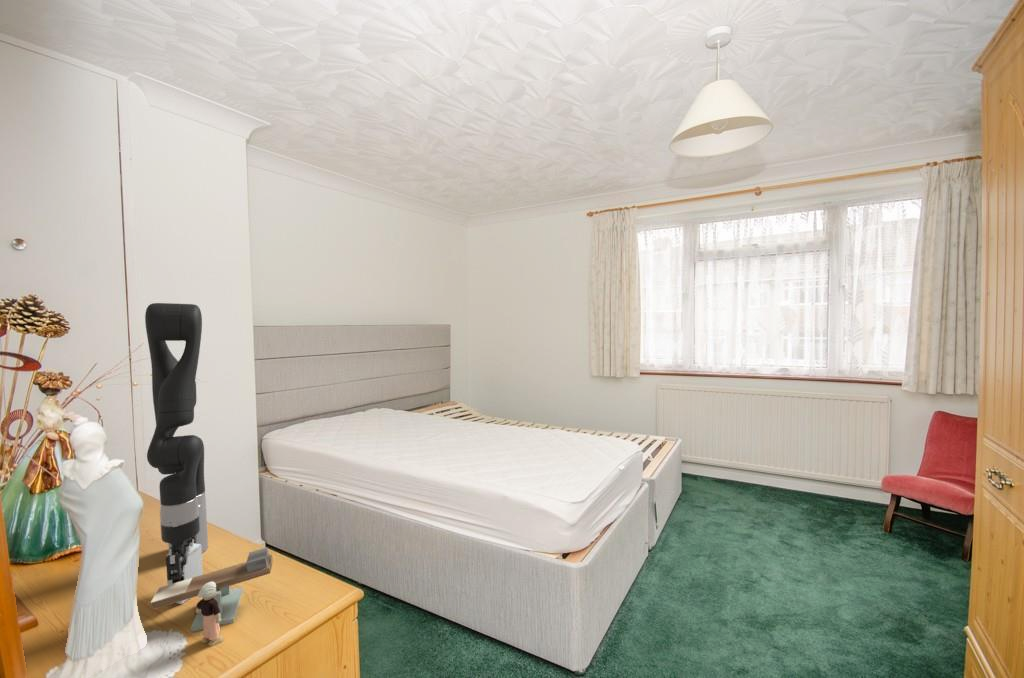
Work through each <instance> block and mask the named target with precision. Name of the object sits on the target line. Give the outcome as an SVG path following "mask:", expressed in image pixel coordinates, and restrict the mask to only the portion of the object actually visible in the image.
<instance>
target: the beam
mask: <svg viewBox="0 0 1024 678" xmlns="http://www.w3.org/2000/svg"><path fill="white" fill-rule="evenodd" d="M269 551H270V550H269V548H268V547H263V548H260V549H257V550H254V551H250V552H249V553H248V556H247V560H246V561H245V562H241V563H238V564H235V565H231V566H228V567H224V568H220V569H218V570H214V571H211V572H208V573H204V574H203V575H200V576H197V577H193V578H190V579H187V580H183V581H180V582H177V583H173V584H170V585H167V584H166V585H164V586H160V587H158V589H157V591H156V593H155V594H154V596H152V597H153V598H152V599H151V601H150V604H151V608H152V610H156V609H159V608H163V607H166V606H168V605H169V606H170V605H172V604H177V603H176V602H179V601H182V600H186V599H188V600H190V599H191V598H195V597H198V594H199V591H200V589H201V588H202V587H203V586H204V585H205V584H206V583H208V582H214V583H216V592H217V591H219V590H220V589H221V588H224V587H228V586H230V587H231V586H234V585H237V584H241V583H243V582H247V581H250V580H253V579H257V578H261V577H263V576H265V575H270V574H271V572H272V569H273V568H272V566H273V562H274V556H273V554H270V552H269ZM189 598H190V599H189Z"/></svg>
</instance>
